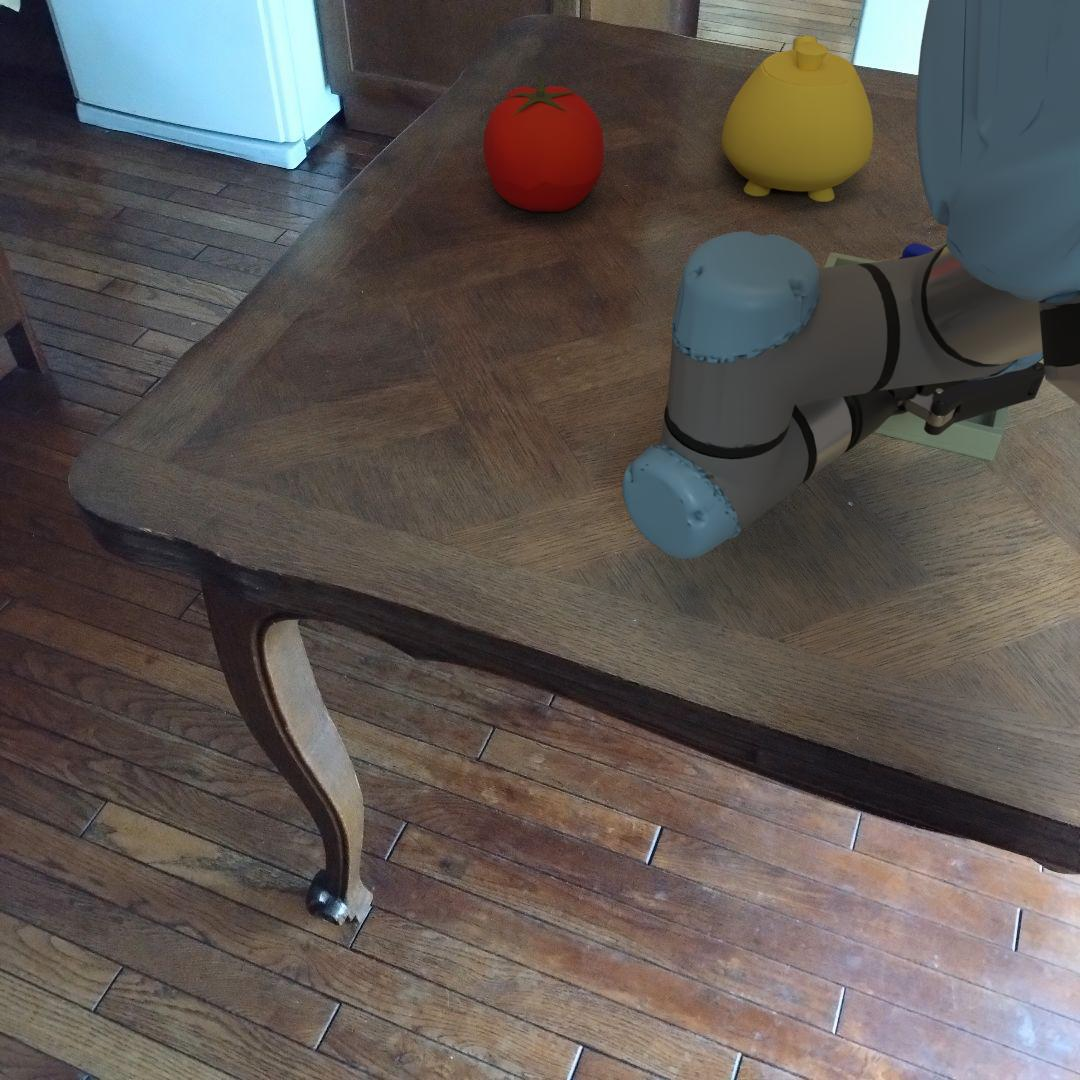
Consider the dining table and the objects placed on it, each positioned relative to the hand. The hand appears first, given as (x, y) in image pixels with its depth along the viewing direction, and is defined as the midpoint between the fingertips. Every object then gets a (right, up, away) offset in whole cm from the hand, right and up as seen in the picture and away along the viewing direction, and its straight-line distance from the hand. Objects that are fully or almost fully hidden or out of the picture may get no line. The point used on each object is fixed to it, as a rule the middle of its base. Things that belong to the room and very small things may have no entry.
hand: (984, 290), depth 83 cm
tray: (-4, -4, +8) cm, 10 cm away
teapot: (-7, +21, +33) cm, 40 cm away
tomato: (-34, +16, +28) cm, 47 cm away
